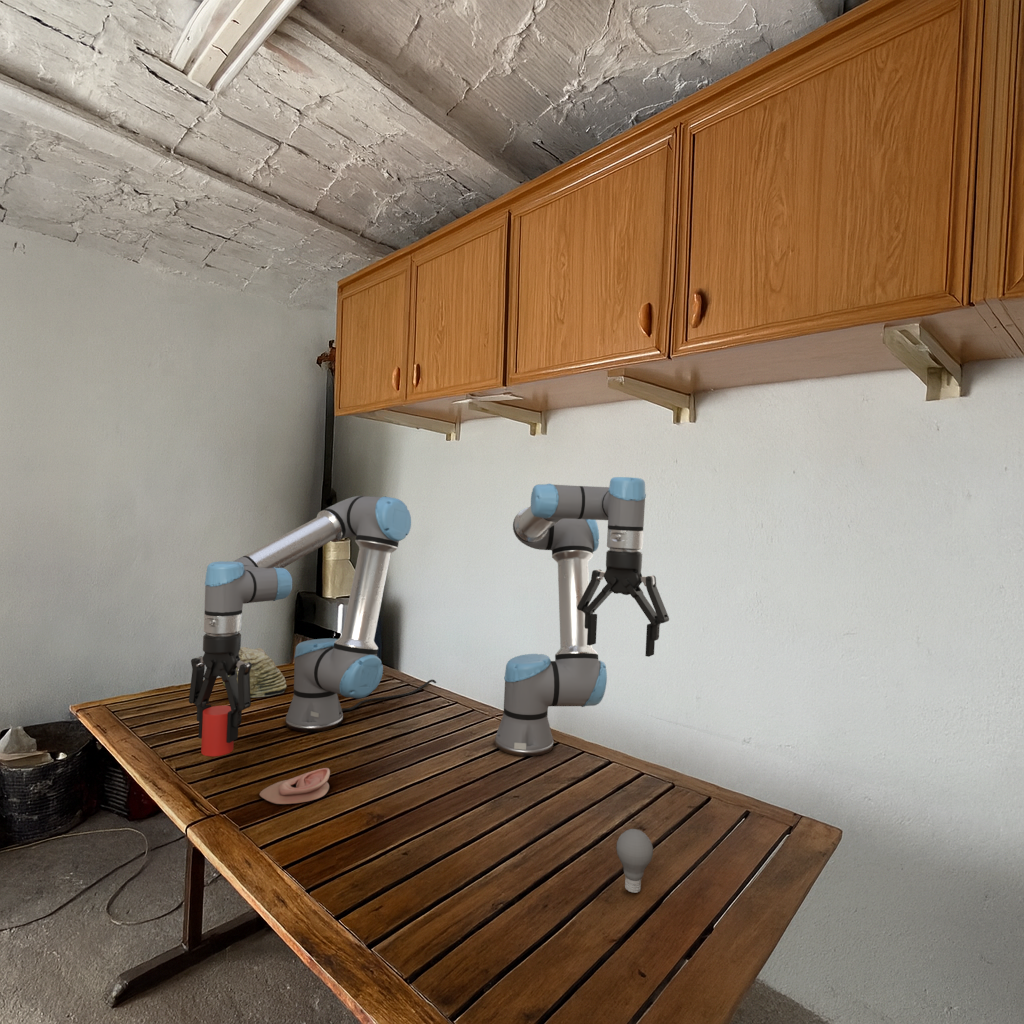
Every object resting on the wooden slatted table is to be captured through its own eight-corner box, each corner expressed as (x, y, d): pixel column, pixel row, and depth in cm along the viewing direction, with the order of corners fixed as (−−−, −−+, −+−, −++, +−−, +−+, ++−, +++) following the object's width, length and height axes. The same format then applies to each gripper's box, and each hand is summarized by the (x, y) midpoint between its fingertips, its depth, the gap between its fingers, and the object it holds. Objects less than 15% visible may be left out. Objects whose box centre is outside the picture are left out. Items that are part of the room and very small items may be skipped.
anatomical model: (251, 781, 130) (282, 759, 142) (250, 800, 131) (281, 776, 142) (310, 789, 128) (337, 767, 139) (309, 809, 128) (336, 784, 139)
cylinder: (239, 746, 141) (240, 706, 141) (222, 757, 134) (224, 716, 134) (212, 743, 142) (213, 704, 141) (194, 755, 135) (196, 713, 135)
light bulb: (610, 879, 108) (613, 822, 108) (644, 879, 109) (647, 822, 109) (619, 902, 102) (622, 840, 102) (655, 901, 103) (658, 840, 103)
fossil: (218, 695, 195) (220, 647, 195) (278, 685, 208) (279, 640, 207) (228, 703, 189) (230, 653, 188) (289, 692, 201) (290, 645, 201)
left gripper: (172, 631, 136) (167, 738, 137) (250, 640, 132) (245, 750, 132) (197, 625, 144) (192, 726, 144) (272, 633, 139) (267, 738, 139)
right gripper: (564, 546, 138) (560, 642, 139) (674, 556, 124) (669, 663, 124) (581, 545, 145) (577, 637, 145) (687, 554, 130) (682, 657, 131)
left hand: (218, 738), depth 138 cm, fingers closed on cylinder, 6 cm apart
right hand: (619, 649), depth 135 cm, fingers open, 13 cm apart
